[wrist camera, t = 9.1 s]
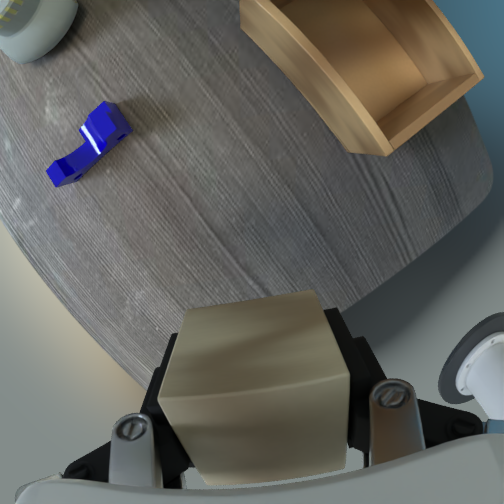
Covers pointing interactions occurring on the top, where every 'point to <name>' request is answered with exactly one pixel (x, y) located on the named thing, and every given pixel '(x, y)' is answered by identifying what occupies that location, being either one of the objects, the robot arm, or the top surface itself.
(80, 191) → the top surface
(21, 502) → the robot arm
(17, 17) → the air freshener
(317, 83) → the chest
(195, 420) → the block
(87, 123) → the cable holder
